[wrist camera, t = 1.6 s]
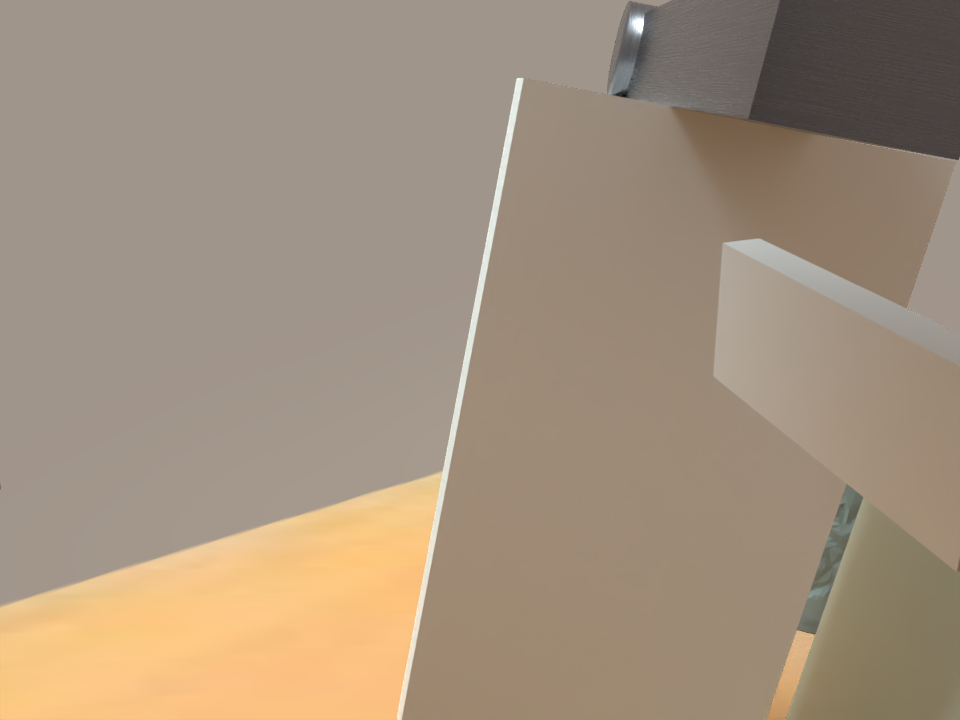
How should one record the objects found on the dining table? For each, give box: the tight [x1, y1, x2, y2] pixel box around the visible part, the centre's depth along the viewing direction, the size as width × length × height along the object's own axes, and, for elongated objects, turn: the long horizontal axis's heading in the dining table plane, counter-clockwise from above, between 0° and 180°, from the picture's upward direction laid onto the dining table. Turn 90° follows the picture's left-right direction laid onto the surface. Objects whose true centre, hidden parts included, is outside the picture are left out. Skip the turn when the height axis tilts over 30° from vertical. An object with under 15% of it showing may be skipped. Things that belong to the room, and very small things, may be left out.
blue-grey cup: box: [797, 484, 863, 634], centre depth 59 cm, size 10×10×12 cm
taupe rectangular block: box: [397, 78, 956, 720], centre depth 34 cm, size 12×12×30 cm
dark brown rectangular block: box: [607, 0, 960, 160], centre depth 25 cm, size 20×5×3 cm, turn 178°
